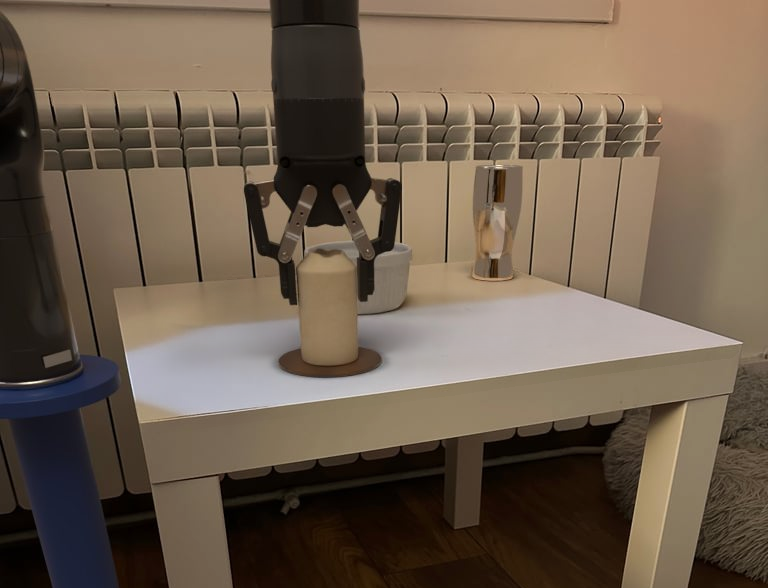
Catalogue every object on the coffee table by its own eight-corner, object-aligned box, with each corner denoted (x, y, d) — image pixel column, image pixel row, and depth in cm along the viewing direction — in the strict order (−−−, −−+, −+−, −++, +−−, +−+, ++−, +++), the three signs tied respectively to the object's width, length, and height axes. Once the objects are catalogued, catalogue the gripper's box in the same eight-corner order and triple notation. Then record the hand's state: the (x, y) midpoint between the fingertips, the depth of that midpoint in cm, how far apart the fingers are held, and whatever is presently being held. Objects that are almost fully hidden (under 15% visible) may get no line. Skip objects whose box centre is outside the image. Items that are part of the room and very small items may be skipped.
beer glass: (459, 277, 109) (463, 166, 101) (489, 271, 113) (495, 164, 106) (495, 283, 104) (503, 168, 97) (525, 277, 108) (534, 165, 101)
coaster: (280, 380, 66) (280, 376, 65) (276, 350, 74) (276, 347, 74) (389, 374, 67) (389, 370, 67) (373, 345, 76) (373, 342, 76)
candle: (312, 369, 67) (306, 256, 63) (294, 354, 72) (287, 247, 67) (367, 362, 69) (365, 252, 65) (346, 347, 74) (342, 243, 69)
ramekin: (310, 319, 86) (307, 258, 82) (304, 296, 97) (300, 241, 94) (420, 314, 87) (421, 254, 84) (401, 292, 99) (401, 238, 96)
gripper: (396, 96, 64) (396, 290, 72) (231, 97, 62) (250, 297, 70) (412, 93, 58) (410, 307, 66) (229, 93, 56) (250, 314, 64)
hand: (327, 301), depth 68 cm, fingers open, 6 cm apart
